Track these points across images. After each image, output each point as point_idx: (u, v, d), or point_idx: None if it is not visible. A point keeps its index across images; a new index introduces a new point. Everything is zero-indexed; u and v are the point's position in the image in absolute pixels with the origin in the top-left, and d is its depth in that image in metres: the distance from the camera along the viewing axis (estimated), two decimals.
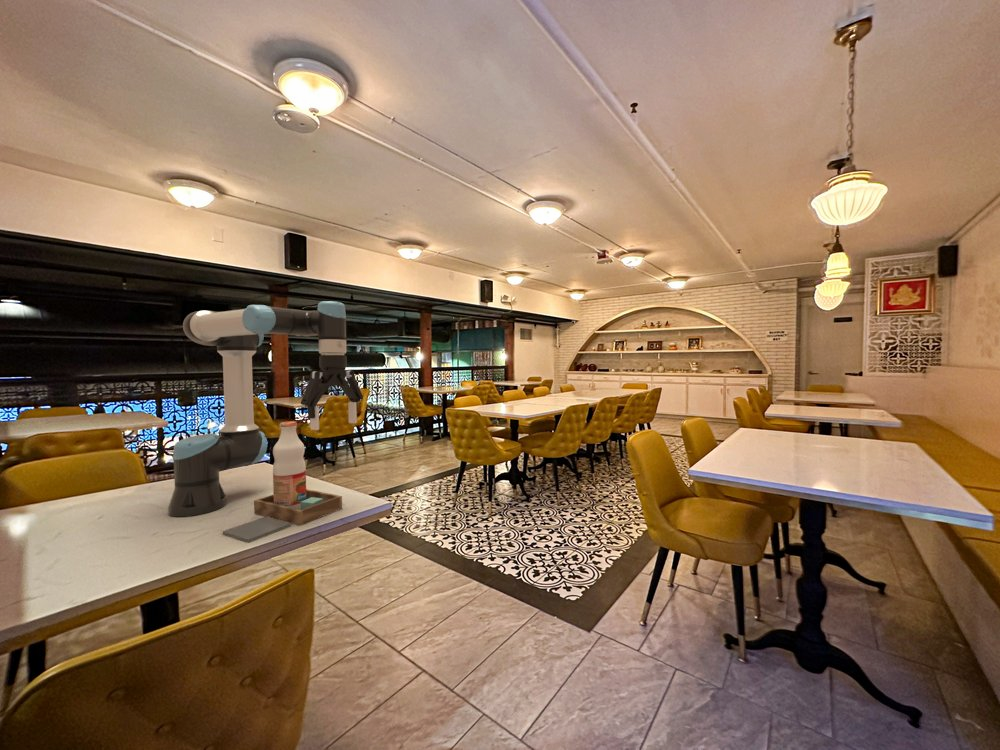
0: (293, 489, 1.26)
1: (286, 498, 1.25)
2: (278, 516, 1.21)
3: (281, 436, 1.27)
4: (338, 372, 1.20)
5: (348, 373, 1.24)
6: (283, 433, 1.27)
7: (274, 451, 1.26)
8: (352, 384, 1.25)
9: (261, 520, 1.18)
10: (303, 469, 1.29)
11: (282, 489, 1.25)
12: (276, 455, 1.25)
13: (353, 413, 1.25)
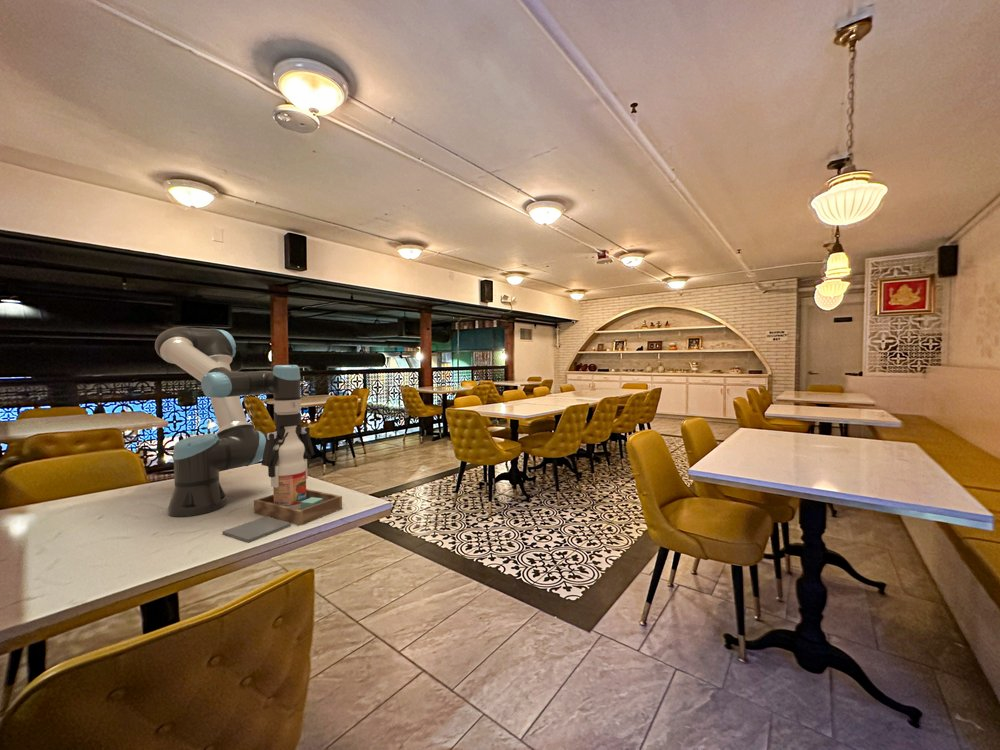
0: (293, 489, 1.26)
1: (286, 498, 1.25)
2: (278, 516, 1.21)
3: None
4: None
5: (303, 429, 1.34)
6: None
7: None
8: (306, 440, 1.35)
9: (261, 520, 1.18)
10: (303, 469, 1.29)
11: (282, 489, 1.25)
12: None
13: None
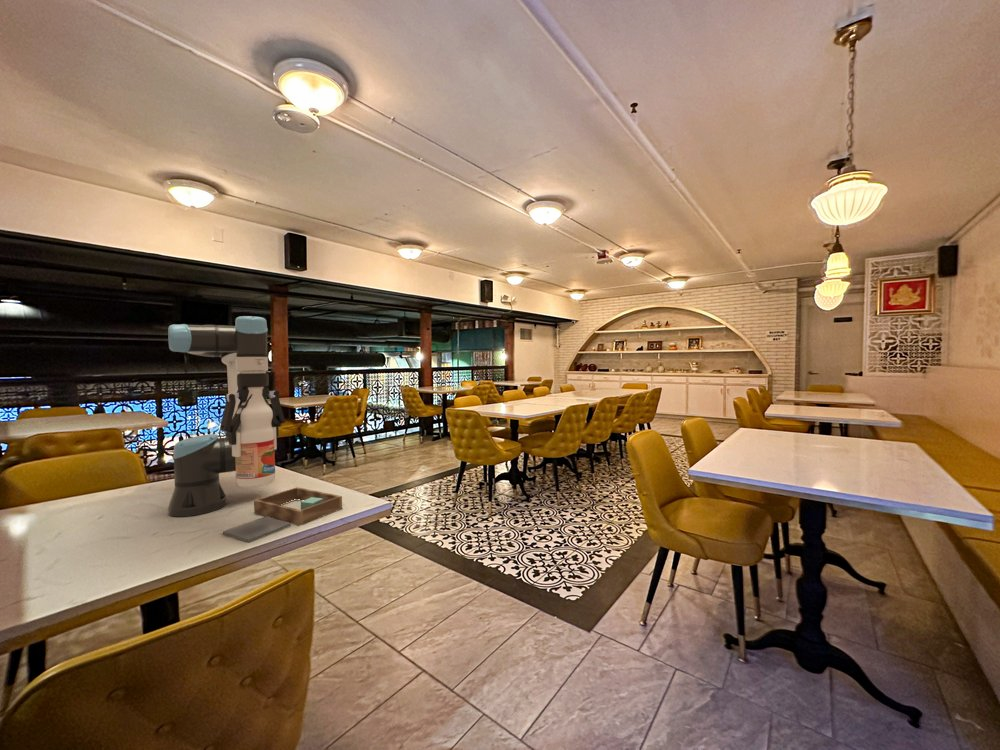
0: (258, 459, 1.09)
1: (250, 469, 1.08)
2: (278, 516, 1.21)
3: None
4: None
5: (272, 393, 1.17)
6: None
7: None
8: (275, 405, 1.18)
9: (261, 520, 1.18)
10: (270, 437, 1.12)
11: (245, 459, 1.08)
12: None
13: None
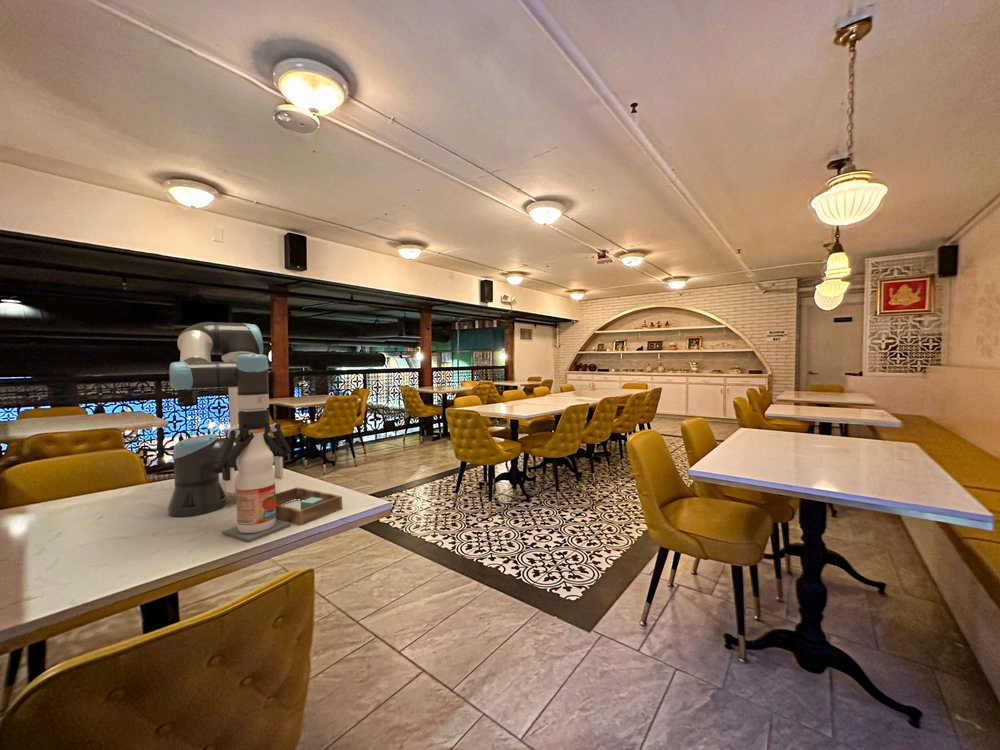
0: (259, 505, 1.10)
1: (251, 516, 1.09)
2: (278, 516, 1.21)
3: None
4: None
5: (273, 427, 1.17)
6: None
7: (237, 461, 1.09)
8: (278, 438, 1.19)
9: None
10: (271, 482, 1.13)
11: (246, 505, 1.08)
12: (239, 466, 1.09)
13: (279, 468, 1.18)
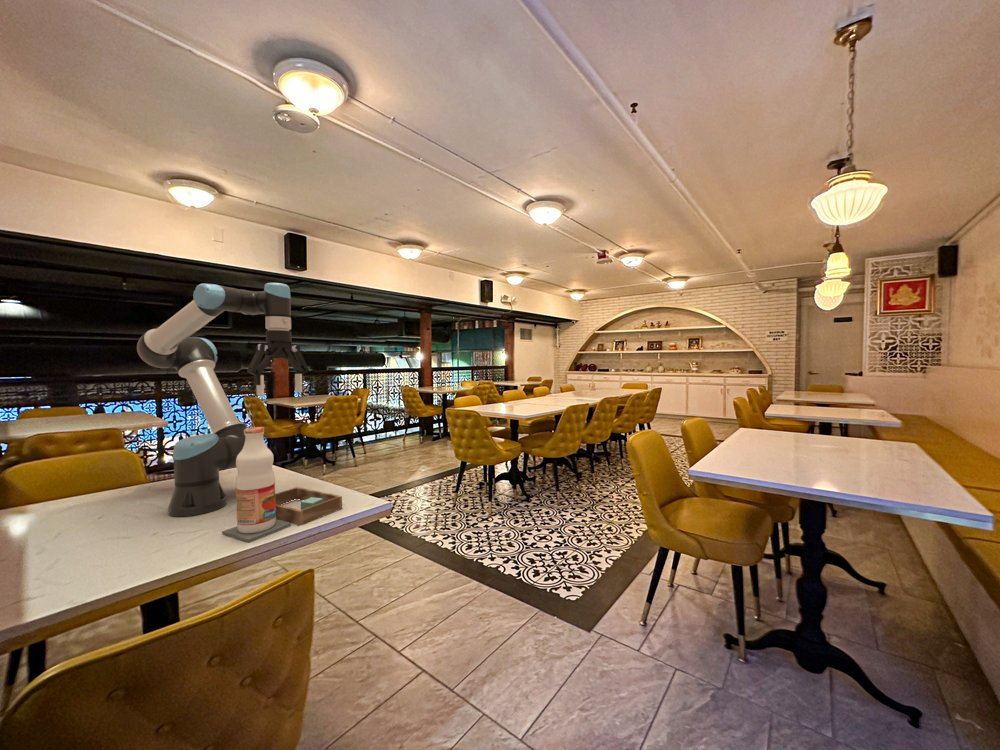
0: (259, 505, 1.10)
1: (251, 516, 1.09)
2: (278, 516, 1.21)
3: (245, 444, 1.10)
4: (283, 346, 1.35)
5: (294, 347, 1.39)
6: (248, 441, 1.10)
7: (237, 461, 1.09)
8: (298, 358, 1.41)
9: None
10: (271, 482, 1.13)
11: (246, 505, 1.08)
12: (239, 466, 1.09)
13: (299, 383, 1.41)
